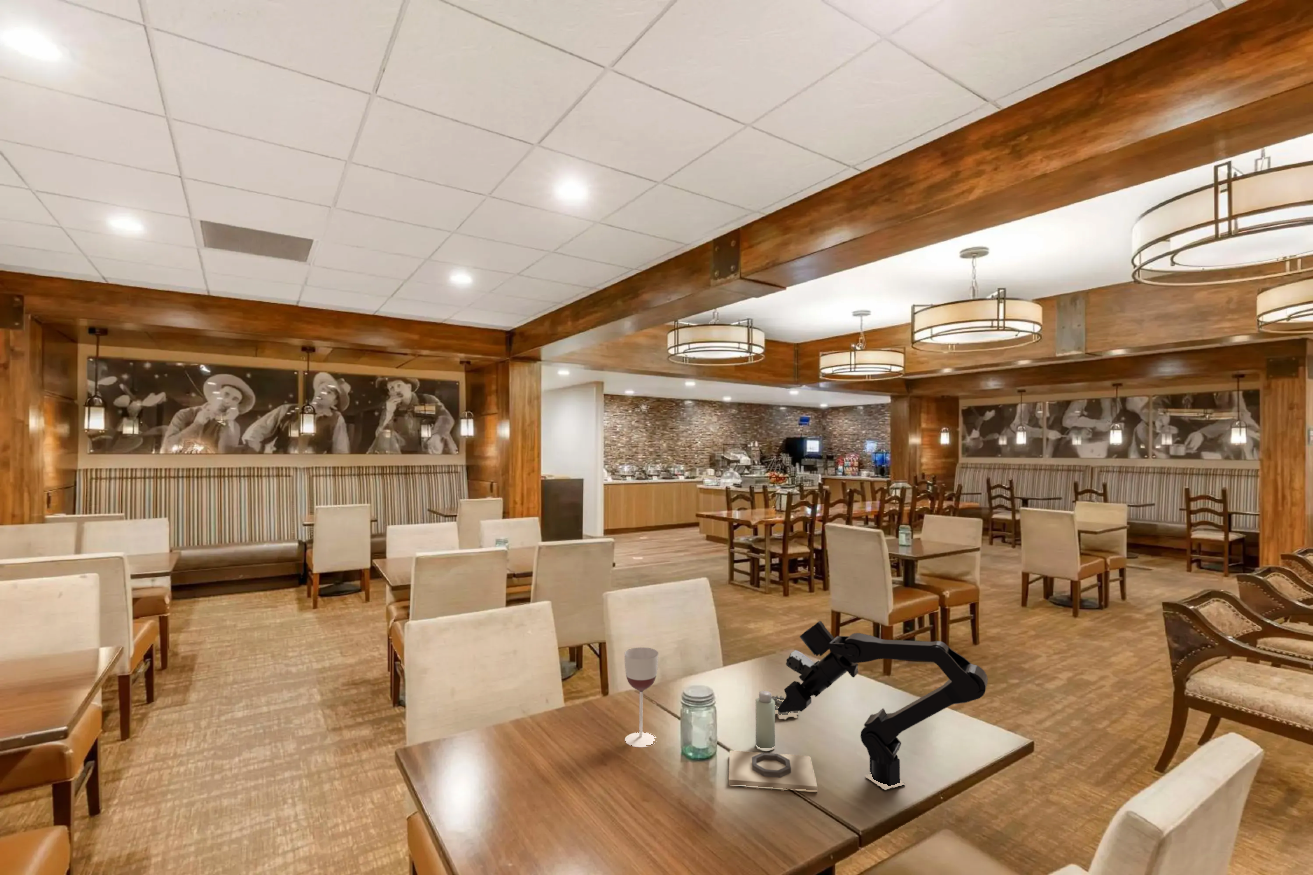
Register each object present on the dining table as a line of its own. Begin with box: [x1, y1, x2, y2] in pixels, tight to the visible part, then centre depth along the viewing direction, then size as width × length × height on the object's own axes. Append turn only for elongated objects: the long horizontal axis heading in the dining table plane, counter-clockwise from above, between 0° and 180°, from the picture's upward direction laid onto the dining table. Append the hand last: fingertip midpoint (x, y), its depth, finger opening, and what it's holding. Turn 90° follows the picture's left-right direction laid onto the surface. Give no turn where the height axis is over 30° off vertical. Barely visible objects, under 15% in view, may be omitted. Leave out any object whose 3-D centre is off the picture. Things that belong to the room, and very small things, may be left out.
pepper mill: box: [755, 690, 776, 748], centre depth 158 cm, size 5×5×14 cm
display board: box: [728, 750, 818, 791], centre depth 144 cm, size 20×14×3 cm
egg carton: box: [771, 695, 798, 715], centre depth 180 cm, size 11×8×4 cm
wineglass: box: [624, 646, 659, 748], centre depth 162 cm, size 9×10×23 cm
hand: (785, 704), depth 155 cm, fingers open, 9 cm apart
